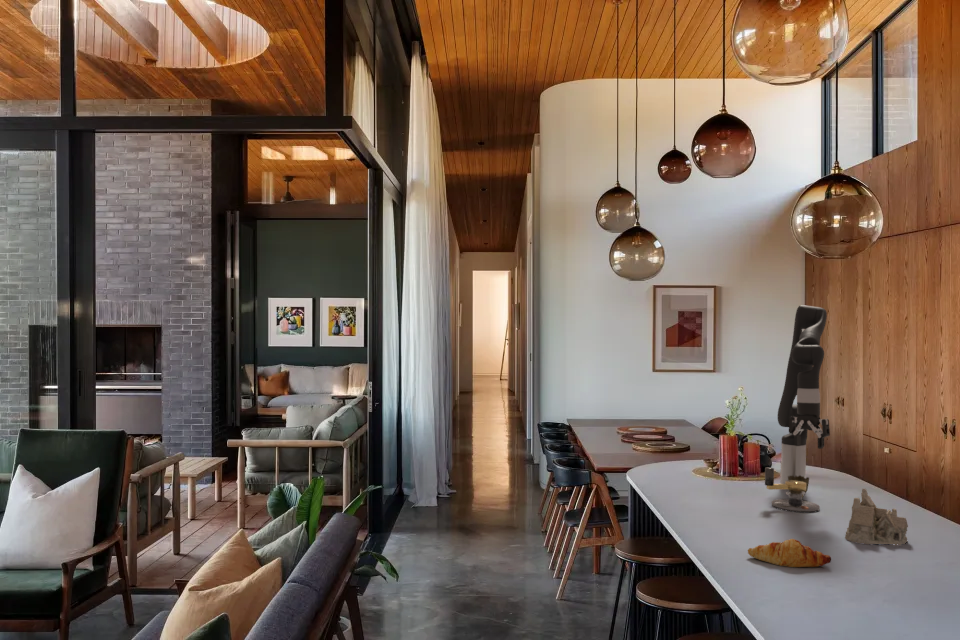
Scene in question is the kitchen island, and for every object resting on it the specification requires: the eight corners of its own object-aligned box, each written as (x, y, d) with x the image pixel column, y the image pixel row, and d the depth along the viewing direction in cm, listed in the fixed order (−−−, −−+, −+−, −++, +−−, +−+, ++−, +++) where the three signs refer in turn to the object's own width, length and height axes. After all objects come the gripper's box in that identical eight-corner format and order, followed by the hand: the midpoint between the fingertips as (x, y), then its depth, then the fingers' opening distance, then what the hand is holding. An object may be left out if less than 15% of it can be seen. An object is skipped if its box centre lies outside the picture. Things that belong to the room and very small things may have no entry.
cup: (813, 499, 286) (813, 478, 286) (798, 500, 283) (798, 479, 283) (798, 495, 293) (798, 474, 293) (783, 496, 290) (783, 475, 290)
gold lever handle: (799, 487, 277) (799, 466, 277) (810, 491, 270) (810, 469, 270) (760, 487, 275) (760, 466, 275) (770, 491, 268) (770, 470, 268)
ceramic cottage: (837, 538, 233) (842, 489, 233) (860, 531, 243) (865, 485, 243) (891, 553, 221) (896, 502, 221) (913, 545, 232) (918, 497, 231)
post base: (763, 502, 280) (763, 485, 280) (804, 501, 282) (804, 485, 282) (785, 512, 264) (786, 495, 264) (828, 512, 266) (829, 495, 266)
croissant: (747, 573, 209) (747, 551, 206) (748, 547, 217) (747, 526, 214) (832, 582, 202) (833, 559, 198) (829, 554, 210) (830, 532, 207)
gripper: (833, 402, 265) (834, 448, 265) (796, 399, 277) (796, 444, 276) (821, 402, 261) (822, 450, 260) (784, 400, 273) (784, 445, 272)
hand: (809, 447), depth 268 cm, fingers open, 8 cm apart
